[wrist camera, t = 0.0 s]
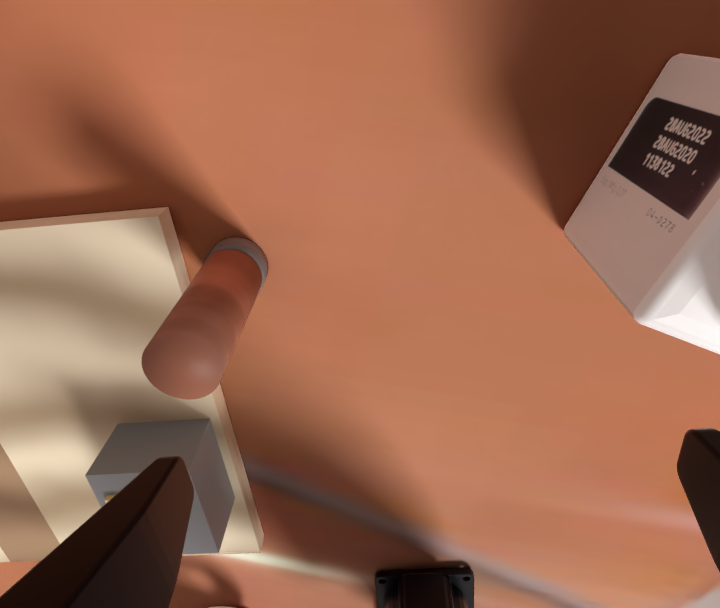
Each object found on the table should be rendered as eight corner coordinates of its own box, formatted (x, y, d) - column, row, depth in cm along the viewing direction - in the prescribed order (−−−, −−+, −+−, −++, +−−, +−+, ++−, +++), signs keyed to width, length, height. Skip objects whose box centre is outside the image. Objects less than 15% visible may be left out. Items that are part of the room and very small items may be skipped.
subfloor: (264, 535, 33) (260, 552, 32) (-28, 546, 35) (-41, 563, 34) (168, 206, 23) (158, 216, 22) (-247, 244, 24) (-276, 254, 23)
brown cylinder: (273, 288, 24) (231, 398, 17) (217, 292, 25) (153, 402, 18) (262, 234, 23) (212, 330, 16) (203, 239, 23) (128, 336, 16)
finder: (235, 497, 30) (217, 558, 27) (151, 501, 30) (123, 561, 27) (210, 418, 27) (186, 475, 24) (117, 423, 27) (81, 480, 24)
